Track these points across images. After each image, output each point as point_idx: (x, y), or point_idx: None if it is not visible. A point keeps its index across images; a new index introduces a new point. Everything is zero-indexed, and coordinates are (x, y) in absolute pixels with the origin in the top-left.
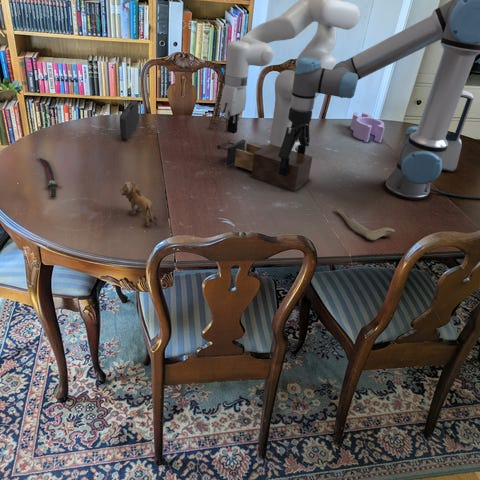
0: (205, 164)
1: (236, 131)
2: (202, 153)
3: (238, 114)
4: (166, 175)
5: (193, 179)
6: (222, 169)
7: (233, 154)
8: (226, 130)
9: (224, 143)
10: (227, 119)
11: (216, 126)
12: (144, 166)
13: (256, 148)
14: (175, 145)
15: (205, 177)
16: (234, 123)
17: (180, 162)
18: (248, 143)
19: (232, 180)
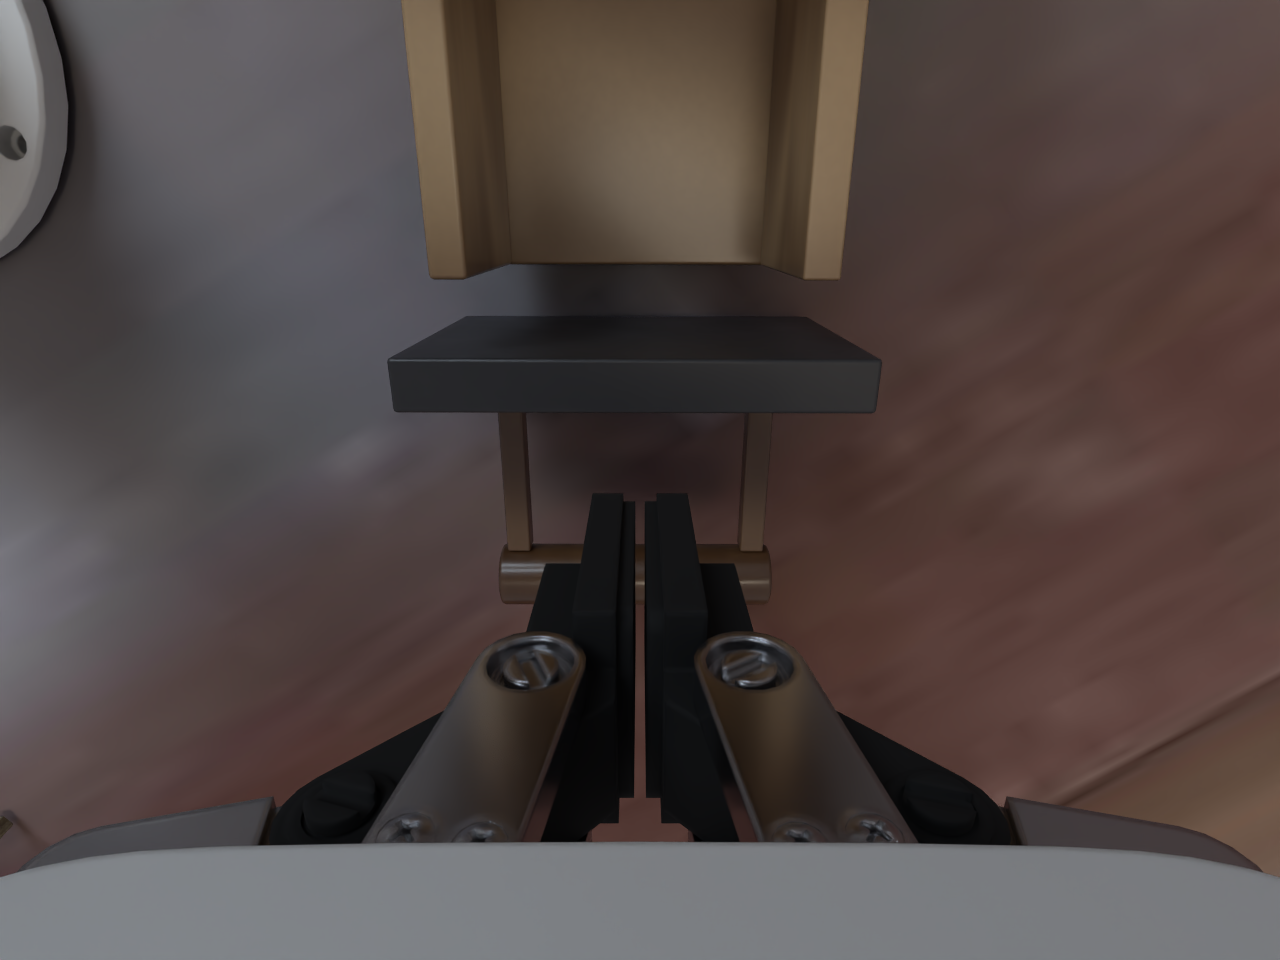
0: (856, 549)
1: (608, 498)
2: (644, 699)
3: (473, 811)
4: (1272, 660)
5: (1250, 445)
6: None
7: (748, 335)
8: (5, 825)
9: None
10: (1157, 826)
11: None
12: None
13: (458, 53)
14: None
15: (1149, 382)
16: (702, 630)
17: (952, 722)
18: (450, 251)
19: (1077, 96)
